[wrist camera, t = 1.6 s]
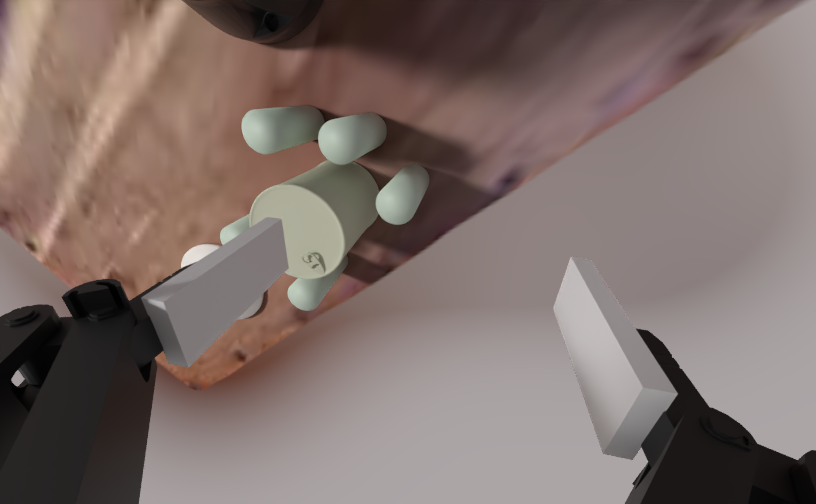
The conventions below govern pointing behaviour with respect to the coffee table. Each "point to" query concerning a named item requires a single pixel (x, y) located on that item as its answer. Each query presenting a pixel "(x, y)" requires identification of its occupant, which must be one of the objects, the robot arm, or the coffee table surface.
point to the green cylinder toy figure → (320, 215)
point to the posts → (341, 147)
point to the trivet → (204, 250)
